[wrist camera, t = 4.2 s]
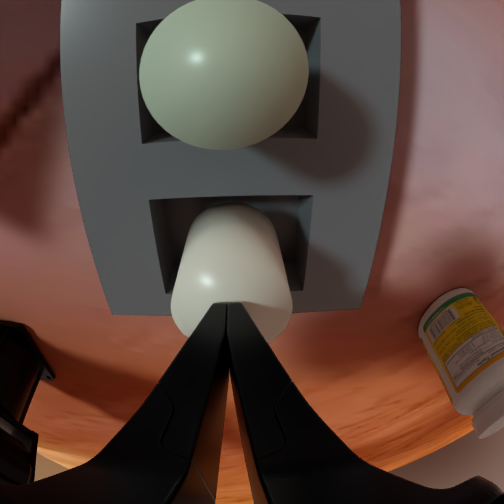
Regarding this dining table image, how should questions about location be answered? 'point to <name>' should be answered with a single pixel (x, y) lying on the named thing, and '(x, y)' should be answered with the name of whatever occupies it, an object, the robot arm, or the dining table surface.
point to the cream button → (232, 269)
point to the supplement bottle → (467, 356)
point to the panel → (233, 153)
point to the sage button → (223, 73)
